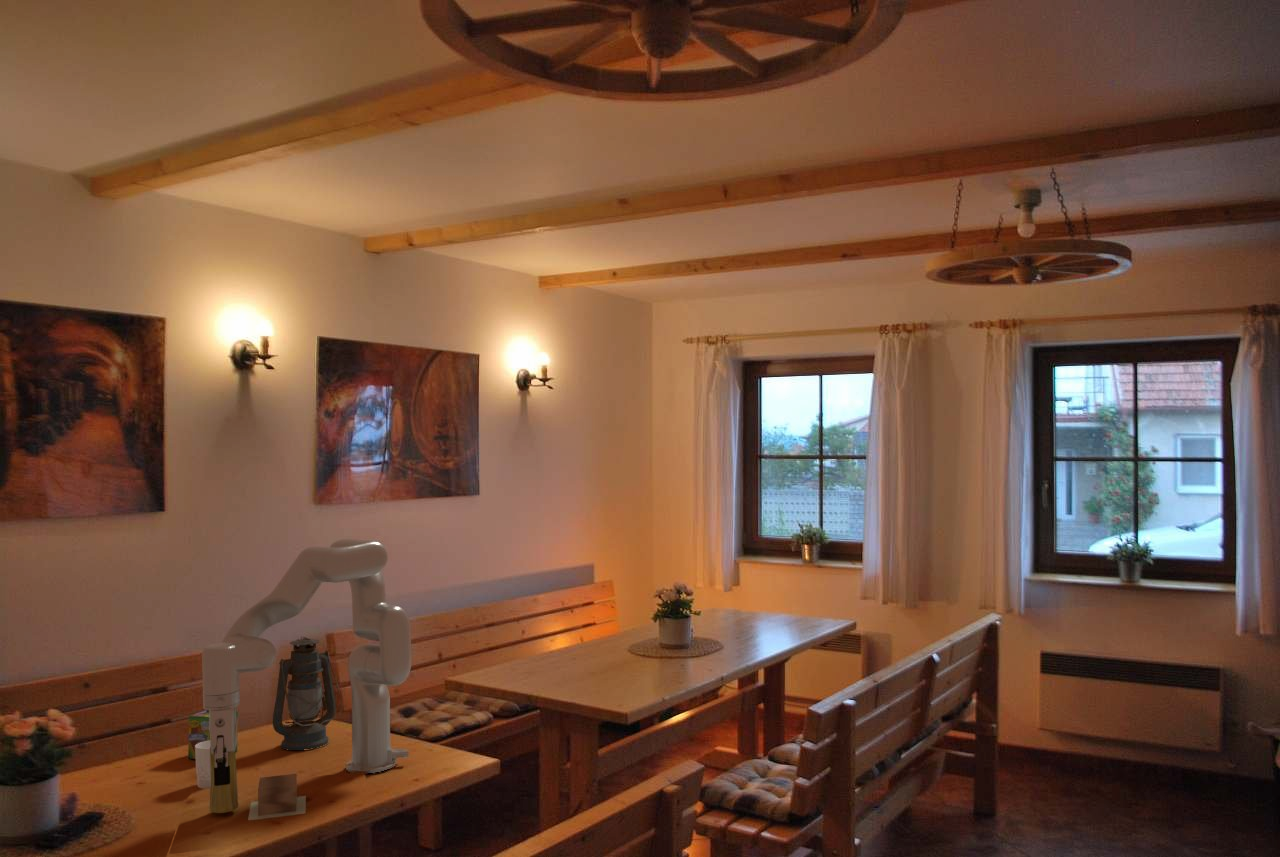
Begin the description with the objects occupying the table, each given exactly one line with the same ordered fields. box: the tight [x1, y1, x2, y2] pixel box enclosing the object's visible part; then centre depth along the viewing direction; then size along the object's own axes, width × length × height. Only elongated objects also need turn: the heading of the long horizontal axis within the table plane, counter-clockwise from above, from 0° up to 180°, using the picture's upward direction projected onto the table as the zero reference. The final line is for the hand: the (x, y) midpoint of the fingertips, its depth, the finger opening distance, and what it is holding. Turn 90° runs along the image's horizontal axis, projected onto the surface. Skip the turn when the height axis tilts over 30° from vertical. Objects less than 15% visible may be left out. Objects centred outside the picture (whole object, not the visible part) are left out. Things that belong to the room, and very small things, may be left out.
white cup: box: [194, 740, 211, 790], centre depth 243 cm, size 8×8×10 cm
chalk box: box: [187, 709, 239, 760], centre depth 267 cm, size 9×9×15 cm
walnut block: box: [257, 773, 298, 816], centre depth 224 cm, size 8×8×6 cm
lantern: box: [272, 636, 343, 751], centre depth 276 cm, size 19×14×30 cm
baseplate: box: [247, 795, 307, 821], centre depth 224 cm, size 12×12×1 cm
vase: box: [209, 746, 240, 814], centre depth 221 cm, size 6×6×14 cm
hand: (223, 779), depth 221 cm, fingers closed on vase, 5 cm apart
